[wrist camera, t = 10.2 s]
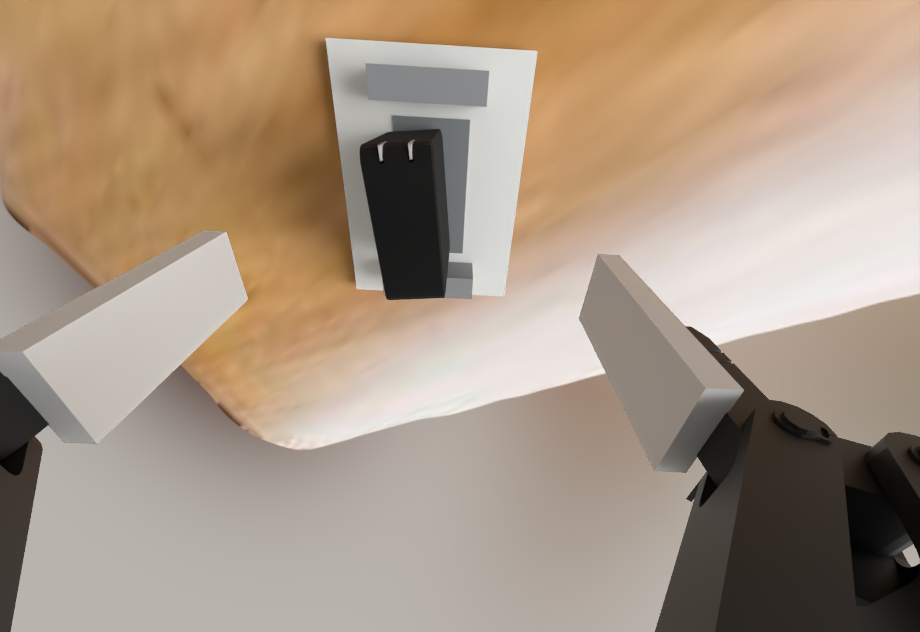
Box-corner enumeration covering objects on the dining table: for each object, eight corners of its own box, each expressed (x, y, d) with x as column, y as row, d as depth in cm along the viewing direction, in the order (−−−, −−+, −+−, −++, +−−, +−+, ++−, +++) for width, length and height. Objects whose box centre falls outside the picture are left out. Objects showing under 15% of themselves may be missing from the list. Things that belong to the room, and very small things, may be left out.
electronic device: (406, 250, 33) (385, 304, 24) (389, 130, 27) (355, 146, 19) (450, 248, 32) (445, 302, 24) (442, 127, 27) (431, 142, 19)
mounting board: (332, 40, 26) (306, 29, 21) (533, 53, 26) (547, 44, 22) (360, 282, 36) (346, 306, 32) (502, 289, 37) (507, 314, 32)
